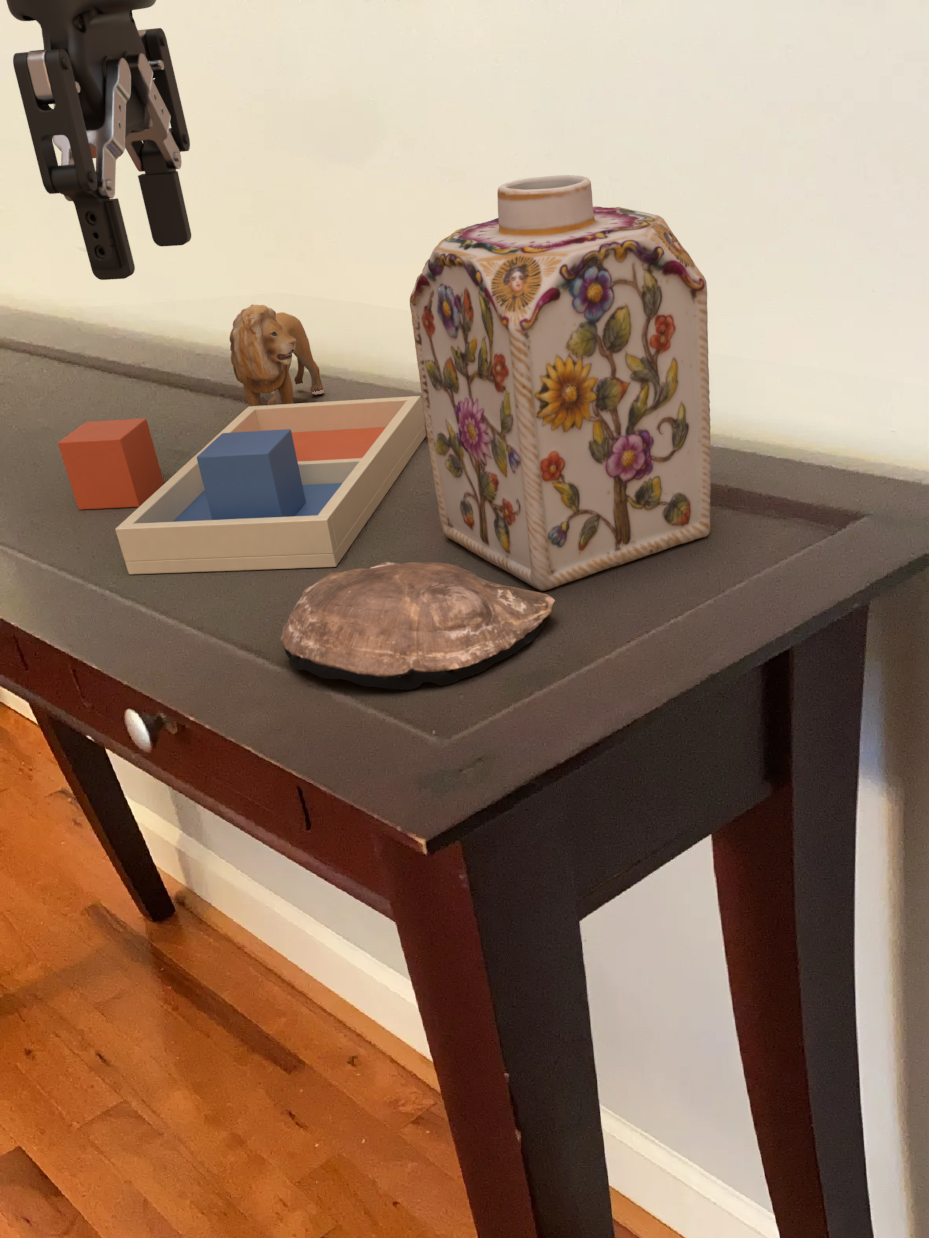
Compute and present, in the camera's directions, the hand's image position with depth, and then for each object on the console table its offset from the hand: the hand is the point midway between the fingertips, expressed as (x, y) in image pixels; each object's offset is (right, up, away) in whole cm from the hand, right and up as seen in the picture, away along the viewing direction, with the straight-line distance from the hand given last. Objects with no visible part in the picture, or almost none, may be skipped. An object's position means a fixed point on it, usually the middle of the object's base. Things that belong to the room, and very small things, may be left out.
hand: (145, 260), depth 73 cm
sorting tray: (+6, -10, +11) cm, 16 cm away
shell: (+16, -24, -8) cm, 29 cm away
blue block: (+5, -13, +6) cm, 15 cm away
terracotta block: (-6, -8, +15) cm, 18 cm away
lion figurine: (+3, +2, +27) cm, 28 cm away
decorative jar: (+25, -16, +1) cm, 29 cm away
